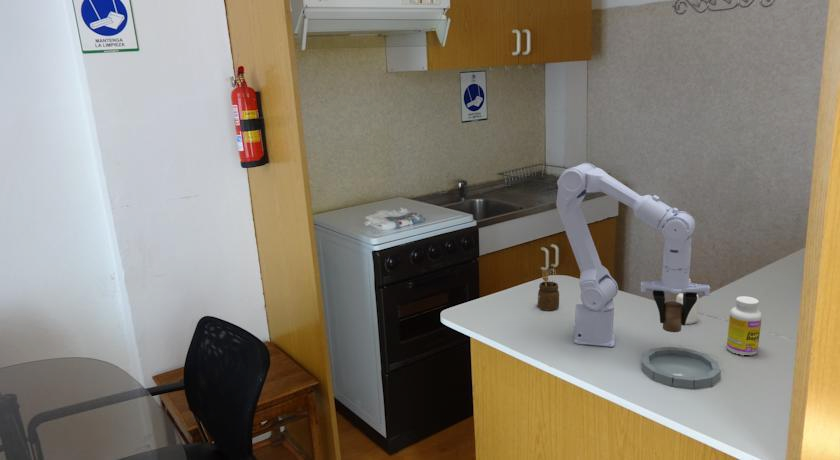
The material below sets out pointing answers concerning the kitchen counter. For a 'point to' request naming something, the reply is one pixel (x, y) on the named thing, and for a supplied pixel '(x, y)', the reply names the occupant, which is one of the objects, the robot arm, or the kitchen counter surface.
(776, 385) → the kitchen counter surface
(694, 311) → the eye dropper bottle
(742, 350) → the supplement bottle
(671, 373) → the slate dish
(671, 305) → the walnut cylinder
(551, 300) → the utensil holder
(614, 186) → the robot arm
